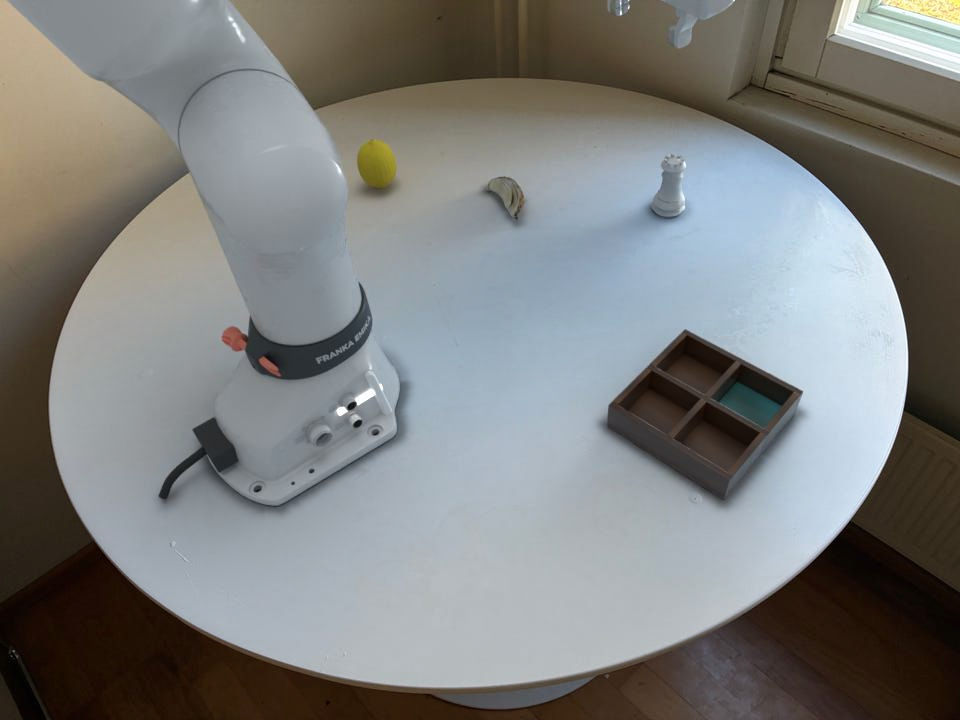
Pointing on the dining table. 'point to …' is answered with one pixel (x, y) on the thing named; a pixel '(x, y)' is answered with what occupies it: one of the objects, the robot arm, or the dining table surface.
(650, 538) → the dining table surface
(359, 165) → the lemon
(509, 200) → the oyster shell
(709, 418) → the grid
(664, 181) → the rook chess piece
